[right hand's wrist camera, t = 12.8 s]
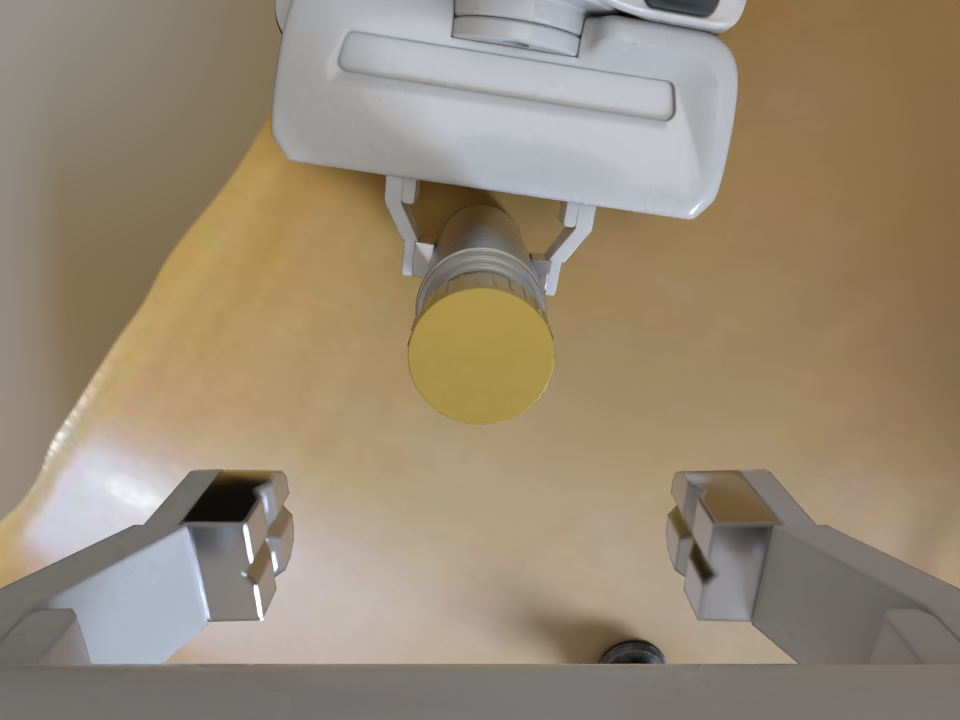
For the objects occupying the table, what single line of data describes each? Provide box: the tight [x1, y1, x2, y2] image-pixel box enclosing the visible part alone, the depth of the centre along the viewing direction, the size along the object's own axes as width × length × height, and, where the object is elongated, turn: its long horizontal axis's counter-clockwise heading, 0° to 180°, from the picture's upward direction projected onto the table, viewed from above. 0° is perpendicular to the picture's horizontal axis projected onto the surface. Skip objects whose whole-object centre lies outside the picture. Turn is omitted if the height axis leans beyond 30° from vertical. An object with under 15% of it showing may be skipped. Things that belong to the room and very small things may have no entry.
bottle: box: [416, 205, 546, 315], centre depth 26 cm, size 5×5×18 cm
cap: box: [408, 272, 555, 425], centre depth 18 cm, size 4×4×2 cm
